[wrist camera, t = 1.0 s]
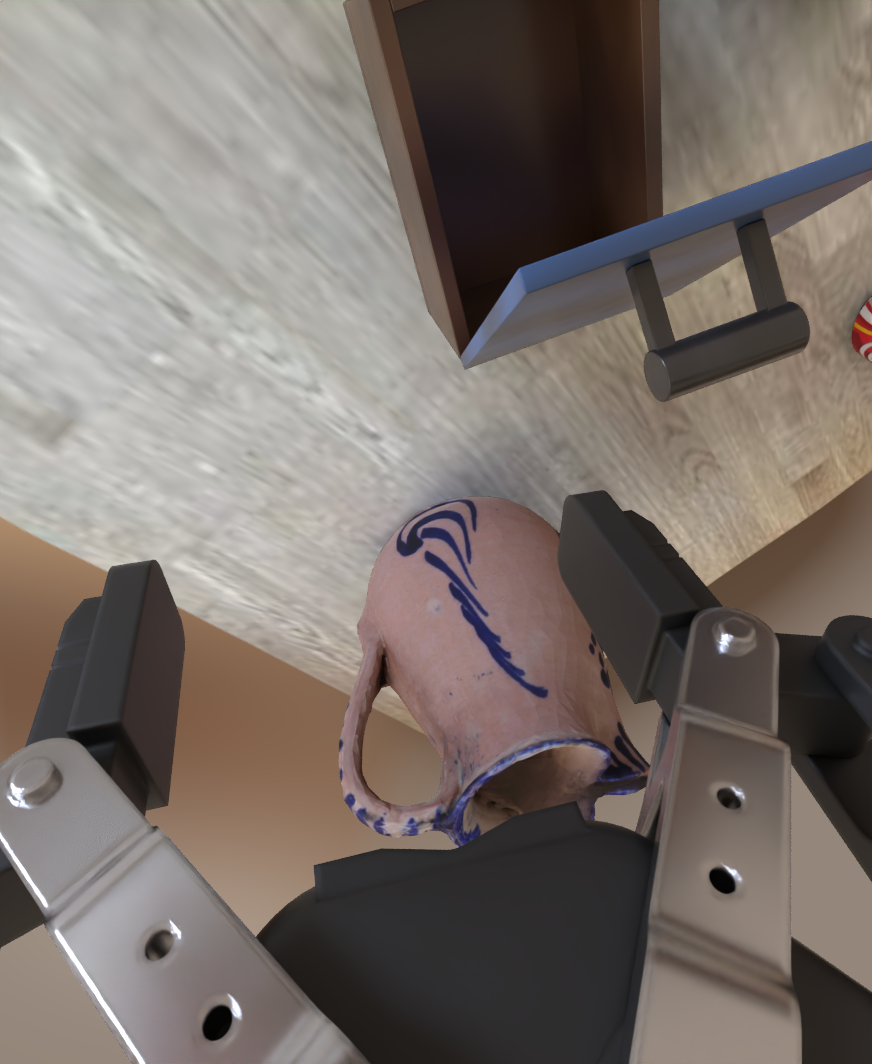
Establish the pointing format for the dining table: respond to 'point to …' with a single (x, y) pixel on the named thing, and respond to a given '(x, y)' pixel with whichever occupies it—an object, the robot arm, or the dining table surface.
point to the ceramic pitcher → (485, 674)
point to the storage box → (511, 133)
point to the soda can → (863, 331)
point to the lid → (678, 280)
